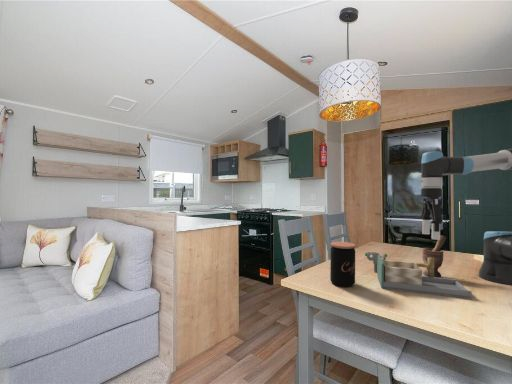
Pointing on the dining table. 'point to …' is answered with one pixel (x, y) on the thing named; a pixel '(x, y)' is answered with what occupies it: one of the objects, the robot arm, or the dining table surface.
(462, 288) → the bay
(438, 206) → the robot arm
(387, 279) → the crate
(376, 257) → the mechanical component
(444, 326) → the dining table surface
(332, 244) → the coffee jar
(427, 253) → the mortar and pestle
